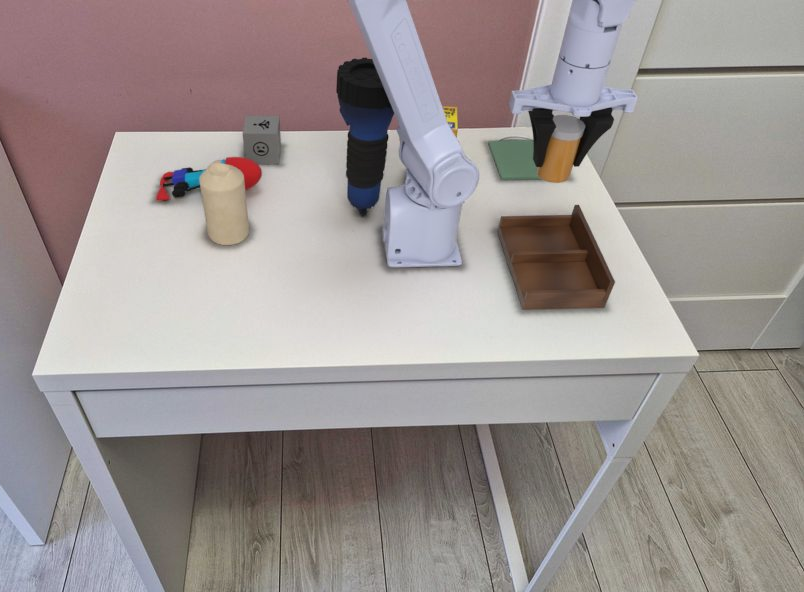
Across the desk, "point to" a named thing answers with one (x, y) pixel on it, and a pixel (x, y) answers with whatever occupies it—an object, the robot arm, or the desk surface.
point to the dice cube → (262, 139)
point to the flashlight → (364, 130)
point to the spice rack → (555, 261)
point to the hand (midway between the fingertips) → (555, 162)
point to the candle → (224, 203)
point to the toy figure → (190, 179)
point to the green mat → (514, 159)
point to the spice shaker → (562, 149)
